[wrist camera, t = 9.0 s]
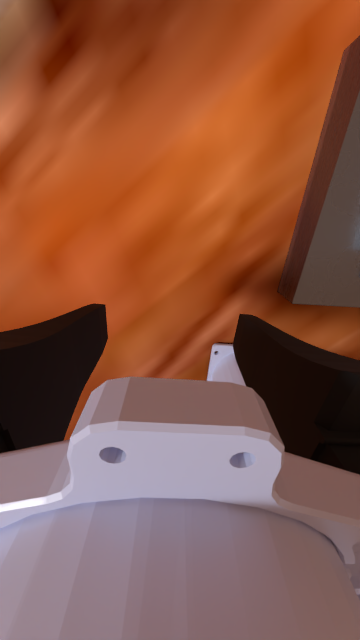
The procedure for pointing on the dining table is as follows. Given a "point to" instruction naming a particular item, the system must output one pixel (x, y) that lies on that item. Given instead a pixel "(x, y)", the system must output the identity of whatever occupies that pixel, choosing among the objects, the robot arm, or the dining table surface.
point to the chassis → (331, 204)
